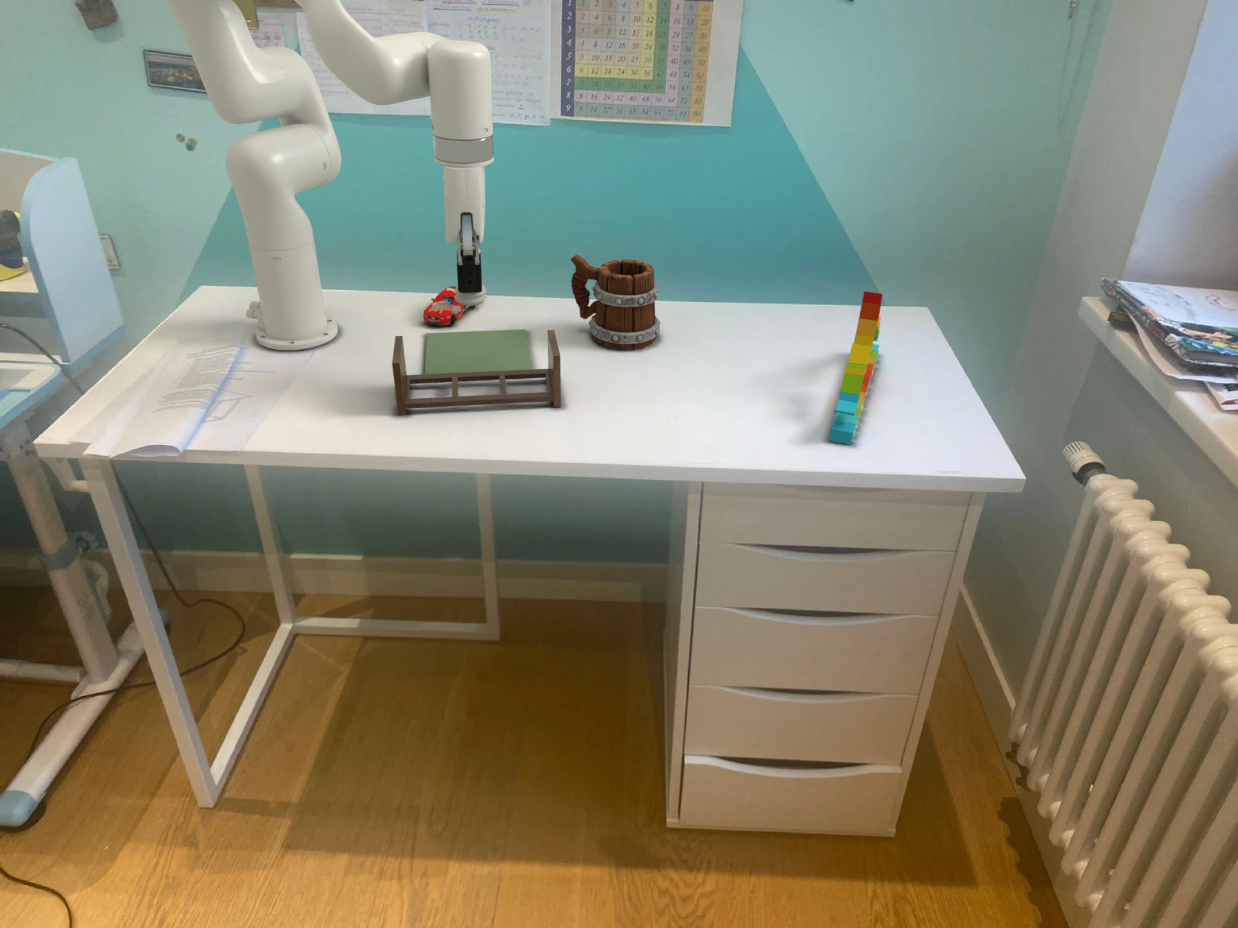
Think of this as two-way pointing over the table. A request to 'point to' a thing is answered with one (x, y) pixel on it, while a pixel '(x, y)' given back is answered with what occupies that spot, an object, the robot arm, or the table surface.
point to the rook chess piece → (470, 294)
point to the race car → (445, 308)
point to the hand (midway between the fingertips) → (470, 284)
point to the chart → (858, 371)
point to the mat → (477, 351)
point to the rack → (404, 380)
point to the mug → (618, 302)
